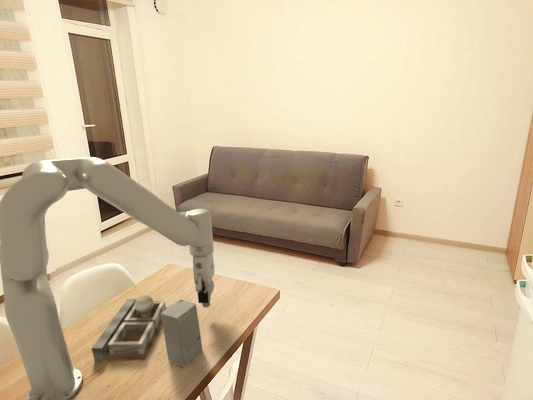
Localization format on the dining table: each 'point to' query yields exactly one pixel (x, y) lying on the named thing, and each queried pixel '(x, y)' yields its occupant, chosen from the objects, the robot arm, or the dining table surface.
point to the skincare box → (181, 332)
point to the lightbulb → (210, 290)
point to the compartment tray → (131, 331)
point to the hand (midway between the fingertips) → (205, 296)
